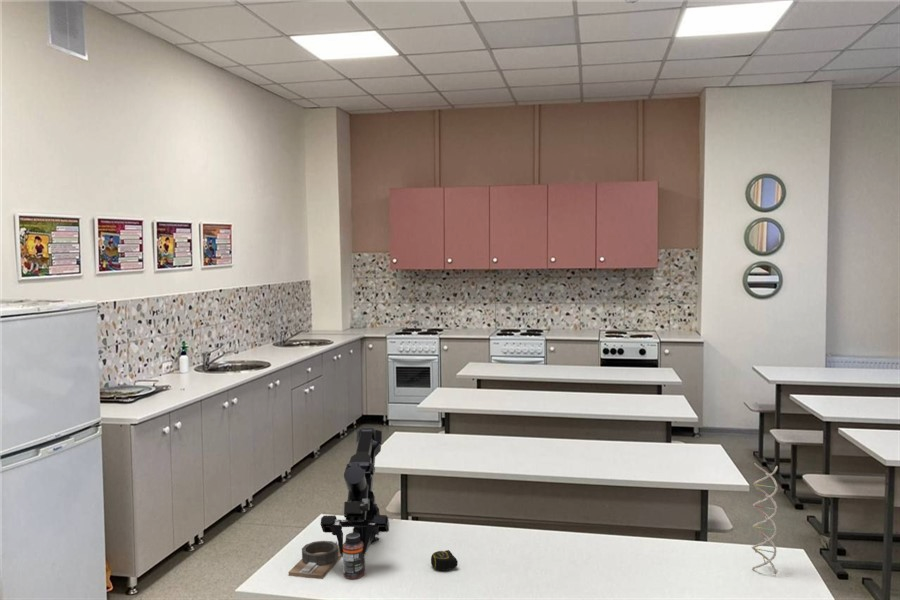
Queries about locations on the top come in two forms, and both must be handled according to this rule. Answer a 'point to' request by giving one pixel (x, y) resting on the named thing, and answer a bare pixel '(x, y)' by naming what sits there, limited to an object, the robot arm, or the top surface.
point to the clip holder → (317, 559)
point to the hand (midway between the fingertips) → (352, 553)
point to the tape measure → (443, 560)
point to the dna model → (766, 518)
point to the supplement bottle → (353, 556)
